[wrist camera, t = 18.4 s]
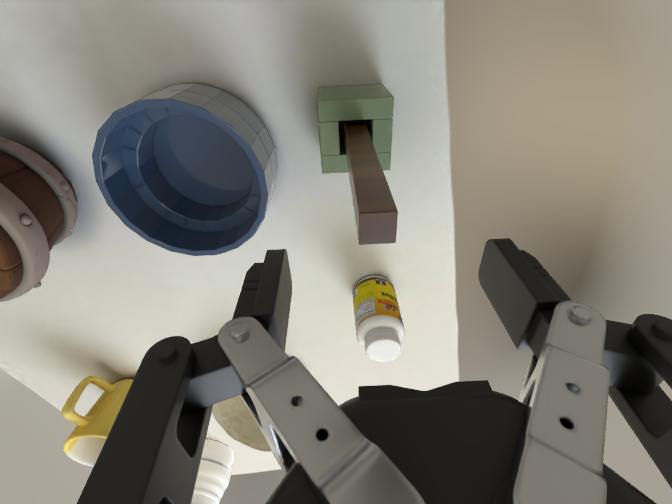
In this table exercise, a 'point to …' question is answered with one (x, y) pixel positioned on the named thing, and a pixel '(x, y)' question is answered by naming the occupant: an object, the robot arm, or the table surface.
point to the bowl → (239, 423)
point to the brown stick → (368, 187)
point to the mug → (93, 419)
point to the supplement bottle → (378, 318)
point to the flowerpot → (30, 216)
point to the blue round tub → (187, 169)
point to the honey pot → (213, 473)
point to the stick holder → (354, 105)
